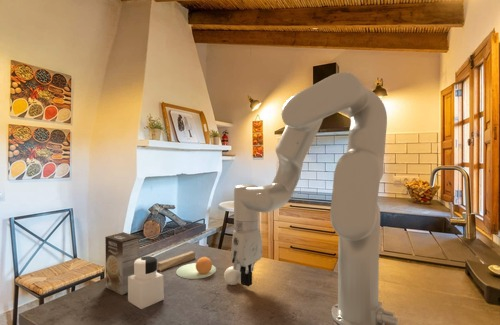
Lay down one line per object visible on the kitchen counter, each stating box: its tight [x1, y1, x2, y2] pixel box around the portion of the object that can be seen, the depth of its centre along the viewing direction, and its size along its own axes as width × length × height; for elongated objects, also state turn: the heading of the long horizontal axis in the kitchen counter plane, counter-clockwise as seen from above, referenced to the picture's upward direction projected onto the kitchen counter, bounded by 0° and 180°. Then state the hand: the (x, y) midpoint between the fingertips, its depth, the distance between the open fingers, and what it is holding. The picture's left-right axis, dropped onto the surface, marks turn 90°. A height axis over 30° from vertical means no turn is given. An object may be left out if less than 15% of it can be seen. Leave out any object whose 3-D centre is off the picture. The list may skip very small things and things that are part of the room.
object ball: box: [195, 256, 213, 274], centre depth 100 cm, size 6×6×6 cm
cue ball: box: [223, 265, 241, 286], centre depth 91 cm, size 6×6×6 cm
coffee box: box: [104, 231, 140, 296], centre depth 89 cm, size 9×6×16 cm
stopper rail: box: [157, 250, 196, 271], centre depth 109 cm, size 2×16×2 cm, turn 142°
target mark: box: [176, 262, 217, 280], centre depth 102 cm, size 14×14×1 cm
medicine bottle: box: [127, 255, 165, 310], centre depth 81 cm, size 7×7×12 cm
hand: (246, 284), depth 88 cm, fingers closed
